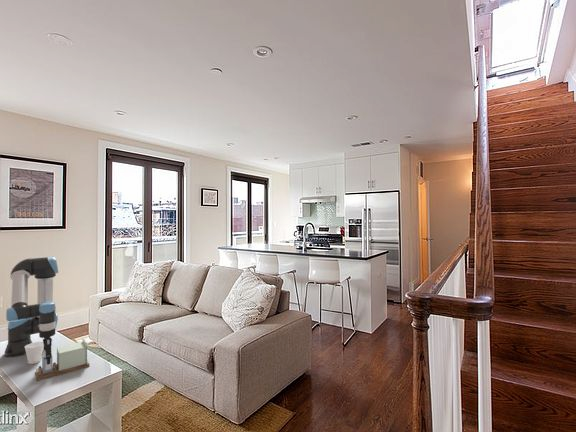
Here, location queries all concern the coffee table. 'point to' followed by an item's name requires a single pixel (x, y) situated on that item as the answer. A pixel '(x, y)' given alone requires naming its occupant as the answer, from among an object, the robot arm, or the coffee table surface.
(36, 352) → the cup
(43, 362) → the jaw block
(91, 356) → the coffee table surface
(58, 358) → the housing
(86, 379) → the coffee table surface
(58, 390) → the coffee table surface
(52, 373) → the board
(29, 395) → the coffee table surface
